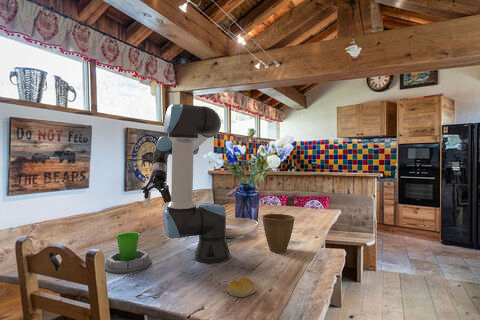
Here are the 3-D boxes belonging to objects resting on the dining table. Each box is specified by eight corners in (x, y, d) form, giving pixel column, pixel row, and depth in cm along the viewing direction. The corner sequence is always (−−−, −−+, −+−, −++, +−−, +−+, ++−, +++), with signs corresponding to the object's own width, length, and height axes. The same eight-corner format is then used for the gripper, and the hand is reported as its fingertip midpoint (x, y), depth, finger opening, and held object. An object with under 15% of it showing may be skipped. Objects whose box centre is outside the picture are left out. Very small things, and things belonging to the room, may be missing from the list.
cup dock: (159, 264, 116) (159, 256, 116) (113, 277, 104) (113, 267, 104) (139, 254, 129) (139, 246, 129) (97, 264, 117) (97, 255, 117)
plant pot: (282, 258, 124) (282, 221, 124) (255, 251, 134) (255, 216, 134) (300, 250, 135) (300, 216, 135) (274, 244, 145) (274, 212, 145)
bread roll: (222, 290, 94) (222, 278, 94) (245, 284, 98) (245, 272, 99) (235, 301, 87) (235, 287, 87) (260, 293, 91) (259, 281, 91)
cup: (125, 267, 110) (125, 239, 110) (111, 263, 115) (111, 235, 115) (144, 260, 118) (144, 233, 118) (130, 256, 123) (130, 231, 123)
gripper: (168, 185, 162) (166, 220, 150) (136, 164, 143) (131, 202, 131) (179, 180, 159) (178, 216, 147) (148, 159, 141) (144, 198, 128)
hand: (156, 210), depth 139 cm, fingers open, 13 cm apart
